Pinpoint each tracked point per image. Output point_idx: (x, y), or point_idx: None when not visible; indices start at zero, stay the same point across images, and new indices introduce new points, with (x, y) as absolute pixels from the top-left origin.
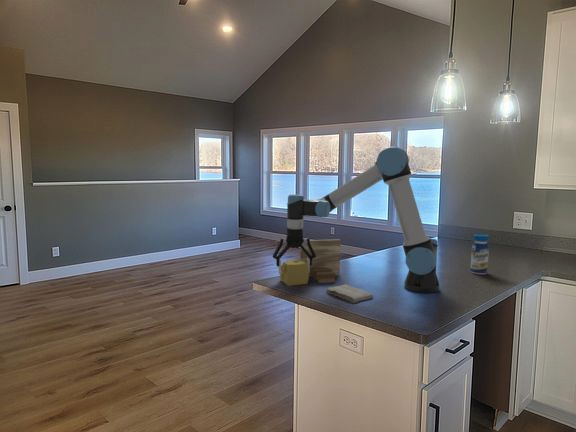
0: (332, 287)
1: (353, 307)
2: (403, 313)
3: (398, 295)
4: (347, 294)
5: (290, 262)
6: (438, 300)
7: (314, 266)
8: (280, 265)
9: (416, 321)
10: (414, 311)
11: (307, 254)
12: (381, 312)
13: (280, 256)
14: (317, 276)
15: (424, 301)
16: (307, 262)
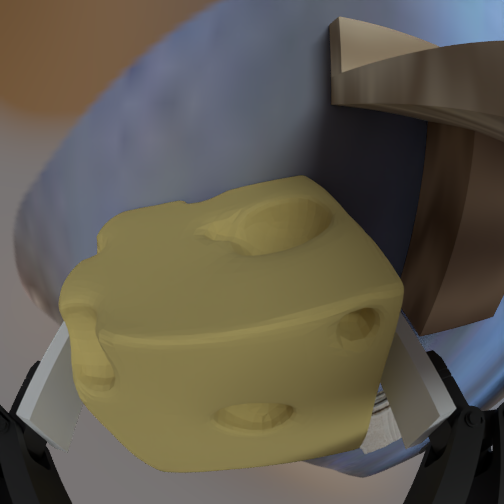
0: (375, 416)
1: (344, 456)
2: (404, 450)
3: (482, 386)
4: (368, 447)
5: (173, 439)
6: (498, 392)
7: (499, 139)
8: (77, 404)
9: (393, 461)
10: (425, 441)
11: (412, 501)
12: (376, 457)
13: (50, 481)
14: (420, 294)
15: (480, 402)
16: (407, 392)
